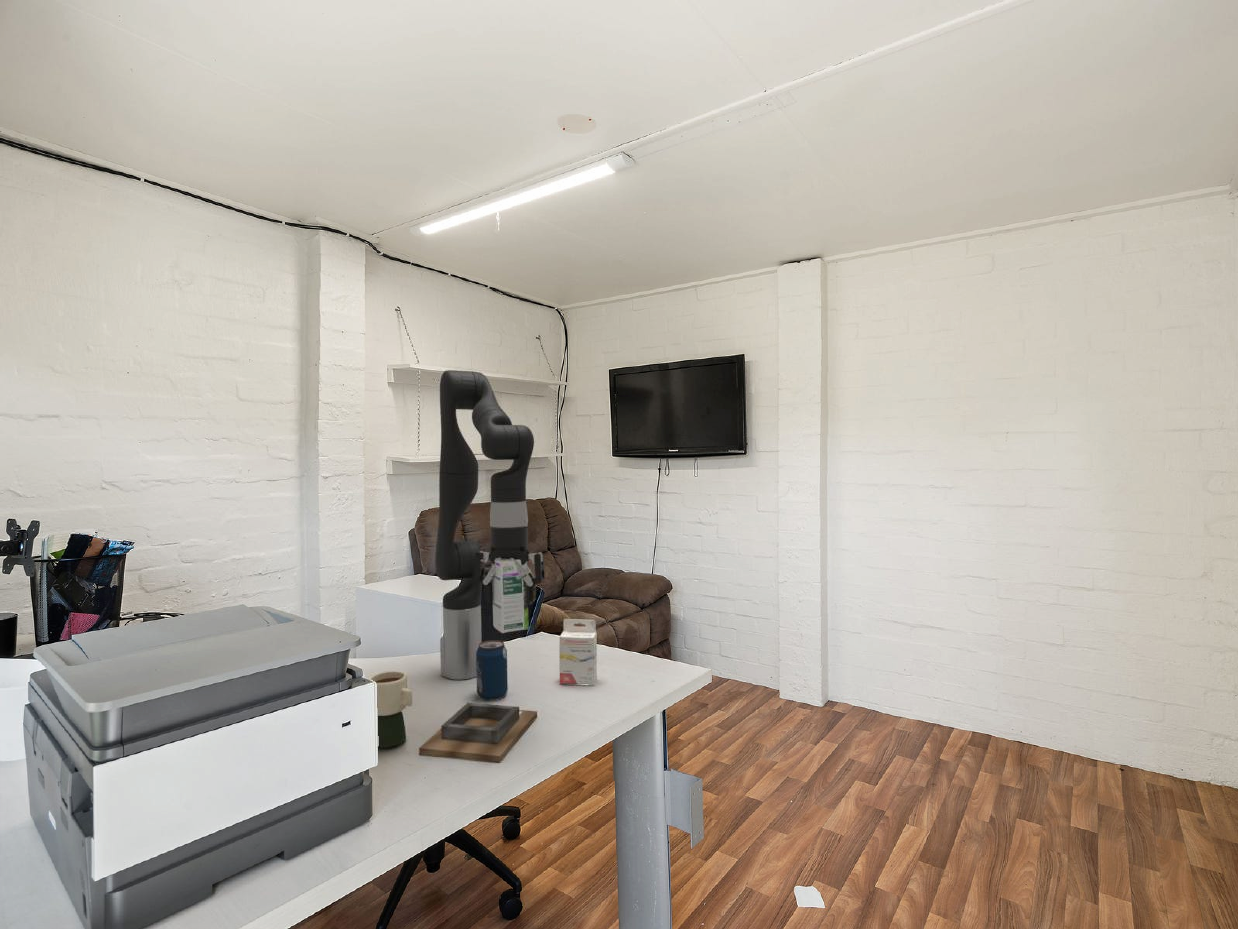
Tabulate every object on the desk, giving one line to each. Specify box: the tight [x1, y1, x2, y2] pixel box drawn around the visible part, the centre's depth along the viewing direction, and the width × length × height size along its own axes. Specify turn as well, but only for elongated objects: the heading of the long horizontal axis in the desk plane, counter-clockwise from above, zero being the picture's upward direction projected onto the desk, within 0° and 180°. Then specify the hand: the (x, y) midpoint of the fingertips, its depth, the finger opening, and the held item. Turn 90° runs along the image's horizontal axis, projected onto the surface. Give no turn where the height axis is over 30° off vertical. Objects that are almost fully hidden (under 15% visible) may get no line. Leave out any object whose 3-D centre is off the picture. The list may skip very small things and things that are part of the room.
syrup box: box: [491, 558, 530, 634], centre depth 133 cm, size 6×6×14 cm
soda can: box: [475, 639, 509, 702], centre depth 149 cm, size 7×7×12 cm
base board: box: [418, 702, 538, 763], centre depth 129 cm, size 16×20×4 cm
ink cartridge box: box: [559, 618, 598, 686], centre depth 157 cm, size 9×5×15 cm, turn 84°
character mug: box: [368, 670, 413, 748], centre depth 126 cm, size 11×7×13 cm, turn 70°
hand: (510, 603), depth 133 cm, fingers closed on syrup box, 8 cm apart
